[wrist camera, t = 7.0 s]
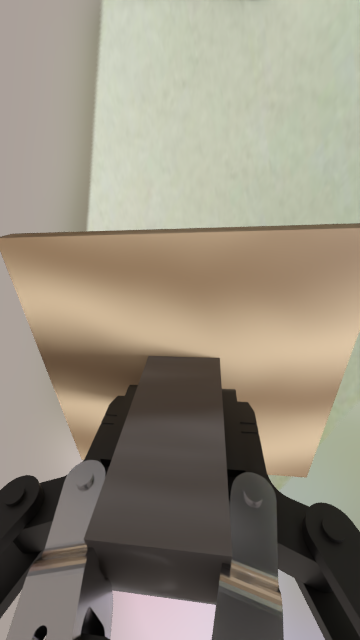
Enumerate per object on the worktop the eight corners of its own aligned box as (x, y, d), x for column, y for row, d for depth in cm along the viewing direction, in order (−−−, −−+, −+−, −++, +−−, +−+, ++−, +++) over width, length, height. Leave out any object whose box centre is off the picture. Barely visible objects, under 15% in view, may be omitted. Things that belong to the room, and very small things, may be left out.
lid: (12, 233, 11) (-365, 328, 4) (378, 222, 9) (967, 355, 2) (88, 446, 18) (9, 617, 11) (301, 461, 16) (372, 675, 9)
